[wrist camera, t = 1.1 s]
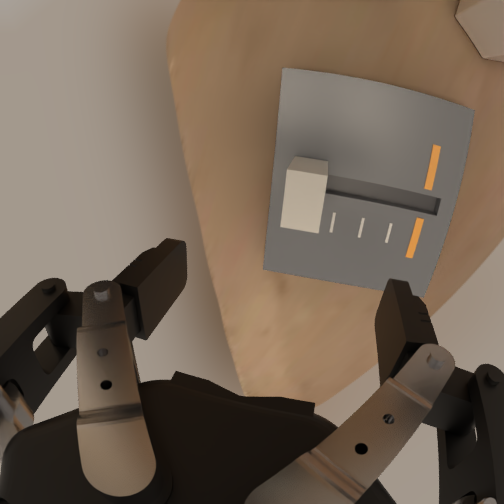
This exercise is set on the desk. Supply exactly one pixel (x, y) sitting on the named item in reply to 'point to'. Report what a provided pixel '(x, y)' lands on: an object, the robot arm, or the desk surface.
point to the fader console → (368, 179)
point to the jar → (484, 26)
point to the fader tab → (304, 194)
